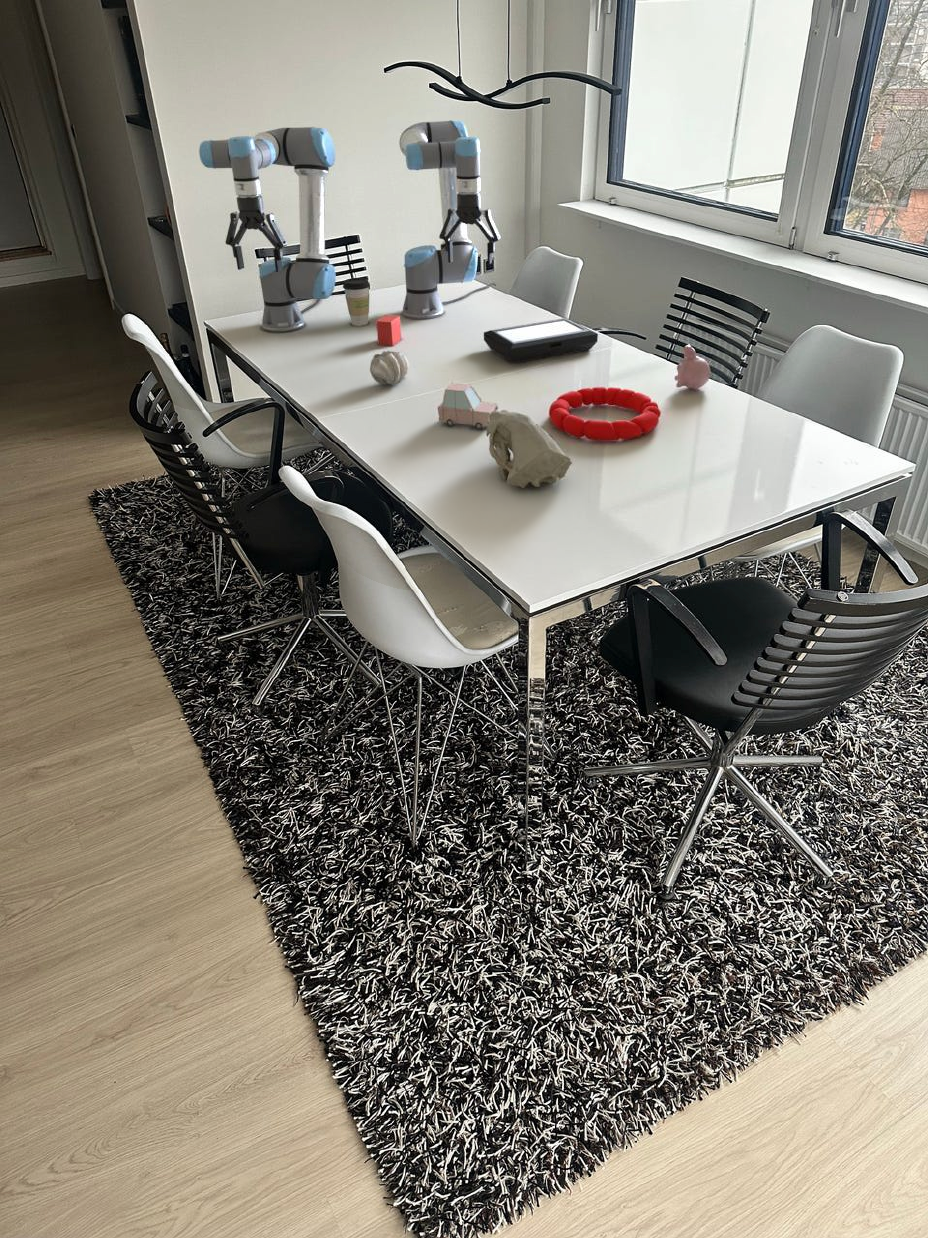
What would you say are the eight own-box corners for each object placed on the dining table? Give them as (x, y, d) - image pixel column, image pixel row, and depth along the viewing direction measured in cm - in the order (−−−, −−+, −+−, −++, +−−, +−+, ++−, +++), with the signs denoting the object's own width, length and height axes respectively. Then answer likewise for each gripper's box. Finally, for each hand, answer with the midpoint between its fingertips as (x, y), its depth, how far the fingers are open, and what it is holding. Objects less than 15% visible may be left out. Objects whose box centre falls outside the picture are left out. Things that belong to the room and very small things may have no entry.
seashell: (362, 383, 274) (359, 351, 268) (406, 374, 280) (403, 342, 274) (376, 393, 267) (373, 360, 261) (420, 383, 272) (418, 351, 267)
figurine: (665, 387, 264) (669, 347, 257) (693, 380, 268) (698, 340, 261) (686, 396, 257) (690, 355, 250) (714, 388, 262) (720, 348, 255)
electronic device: (510, 346, 280) (483, 329, 295) (510, 365, 283) (483, 348, 299) (598, 331, 290) (567, 315, 305) (597, 350, 294) (567, 334, 309)
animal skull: (496, 517, 219) (521, 479, 201) (463, 429, 225) (484, 384, 207) (557, 503, 225) (586, 465, 206) (523, 417, 231) (549, 373, 212)
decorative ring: (589, 435, 224) (684, 402, 234) (527, 398, 247) (617, 369, 256) (589, 461, 229) (683, 427, 238) (529, 422, 251) (617, 393, 260)
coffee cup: (372, 326, 323) (368, 283, 314) (345, 327, 323) (340, 284, 315) (374, 318, 331) (371, 276, 322) (348, 319, 331) (344, 277, 323)
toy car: (488, 432, 240) (488, 396, 234) (436, 426, 244) (434, 390, 239) (499, 419, 247) (499, 384, 241) (448, 413, 252) (447, 379, 246)
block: (378, 344, 306) (376, 320, 301) (387, 337, 312) (385, 314, 307) (392, 345, 304) (391, 322, 300) (401, 339, 310) (399, 315, 306)
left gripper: (206, 196, 266) (219, 270, 278) (279, 198, 259) (289, 274, 271) (219, 192, 272) (231, 264, 284) (292, 194, 265) (301, 268, 277)
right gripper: (427, 193, 284) (431, 263, 296) (503, 195, 277) (503, 266, 289) (435, 189, 289) (438, 257, 302) (509, 191, 283) (509, 261, 295)
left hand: (260, 269), depth 278 cm, fingers open, 13 cm apart
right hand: (470, 262), depth 295 cm, fingers open, 13 cm apart
